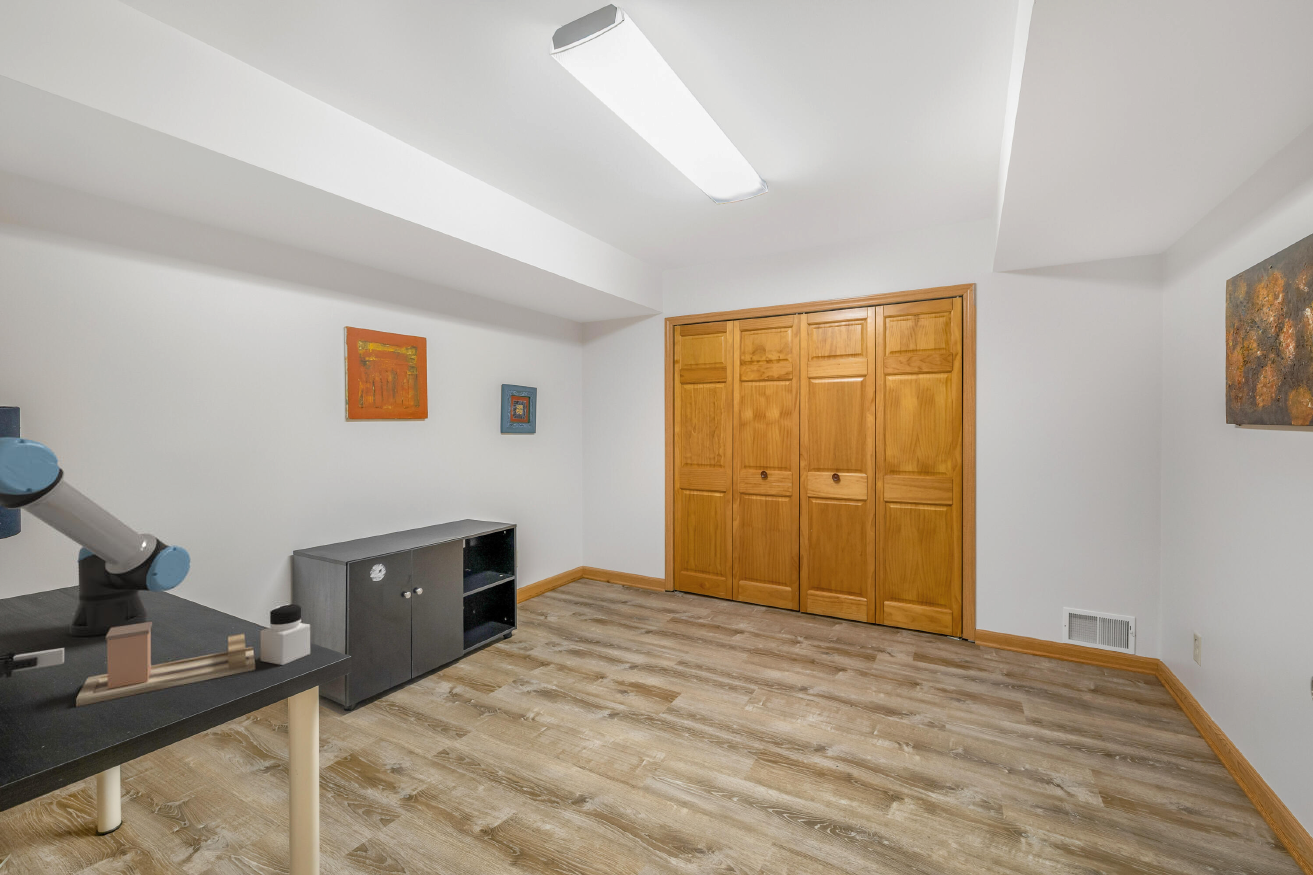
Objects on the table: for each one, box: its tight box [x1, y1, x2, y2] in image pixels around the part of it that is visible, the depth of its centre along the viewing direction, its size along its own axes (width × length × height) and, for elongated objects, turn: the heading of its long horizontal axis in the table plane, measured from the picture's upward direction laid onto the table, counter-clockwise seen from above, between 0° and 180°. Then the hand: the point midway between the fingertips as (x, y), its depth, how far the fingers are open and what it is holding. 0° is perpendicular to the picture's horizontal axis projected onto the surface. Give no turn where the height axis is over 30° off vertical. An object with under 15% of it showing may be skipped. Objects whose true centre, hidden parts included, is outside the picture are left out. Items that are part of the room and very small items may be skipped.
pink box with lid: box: [105, 621, 153, 689], centre depth 118 cm, size 6×6×11 cm
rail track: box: [75, 633, 256, 707], centre depth 122 cm, size 12×28×5 cm, turn 127°
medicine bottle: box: [260, 603, 311, 666], centre depth 132 cm, size 7×7×12 cm
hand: (63, 655), depth 112 cm, fingers closed
